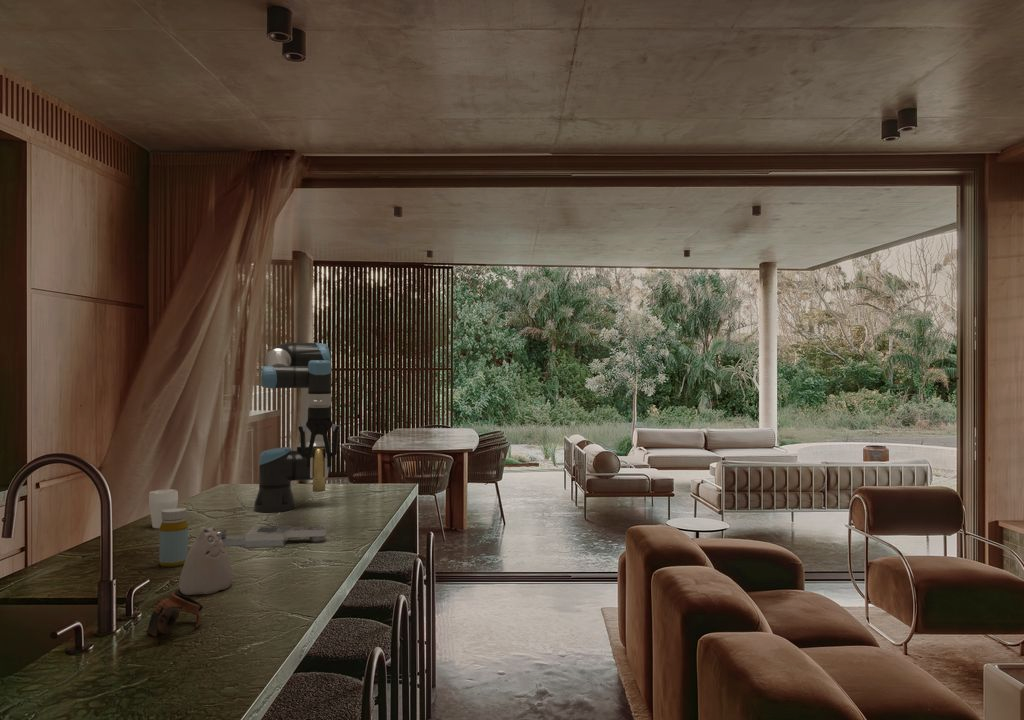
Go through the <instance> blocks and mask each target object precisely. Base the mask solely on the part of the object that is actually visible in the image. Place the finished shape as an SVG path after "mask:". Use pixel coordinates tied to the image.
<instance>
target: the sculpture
mask: <svg viewBox="0 0 1024 720" xmlns="http://www.w3.org/2000/svg"><path fill="white" fill-rule="evenodd" d="M216 530H217V529H215V528H214V527H213V526H210V527H209V528H205V527H203V528H202V529H201V530H200V532H199V533H198V534H197V537H196V538H195V540H194V541H193V543H192V544H191V546H190V549H188V554H187V557H186V560H185V563H184V565H182V566H183V567H182V570H181V573H180V577H179V580H178V581H179V582H178V586H179V591H180V594H183V596H198V595H200V596H201V595H211V594H216V593H218V592H219V591H223V590H227V589H229V588H230V587H231V584H232V583H233V569H232V565H231V561H230V557H229V555H228V551H227V549H226V546H224V543H223V541H222V539H221V537H220V535H219V534H218V532H217V531H216Z"/></svg>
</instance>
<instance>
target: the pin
mask: <svg viewBox="0 0 1024 720" xmlns="http://www.w3.org/2000/svg"><path fill="white" fill-rule="evenodd" d="M325 454H326V448H313V480H312V492H314V493H315V492H316V493H320V492H326V478H325Z"/></svg>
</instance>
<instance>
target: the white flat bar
mask: <svg viewBox="0 0 1024 720" xmlns="http://www.w3.org/2000/svg"><path fill="white" fill-rule="evenodd" d="M327 529H328V528H327V526H326V525H324V526H322V525H321V526H320V525H317V526H290V524H288V525H284V524H282V525H253V527H251V528H250V529H249V530H248V531H247V532H246V533H245V534H241V535H239V534H235V535H233V534H232V535H227V530H226V529H221V528H220V529H215V530H216V531H217V532H218V534H219V535H220V537H221V539H222V541H223V543H224V546H225V547H232V546H233V547H235V546H244V547H245V548H246V549H248V548H275V547H278V548H279V547H284V546H285V545H286V543H287V542H288V540H289V539H290V538H304V537H305V538H308V541H309V543H312V544H319V543H324V542H326V539H327V538H326V537H327V532H328V531H327Z"/></svg>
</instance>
